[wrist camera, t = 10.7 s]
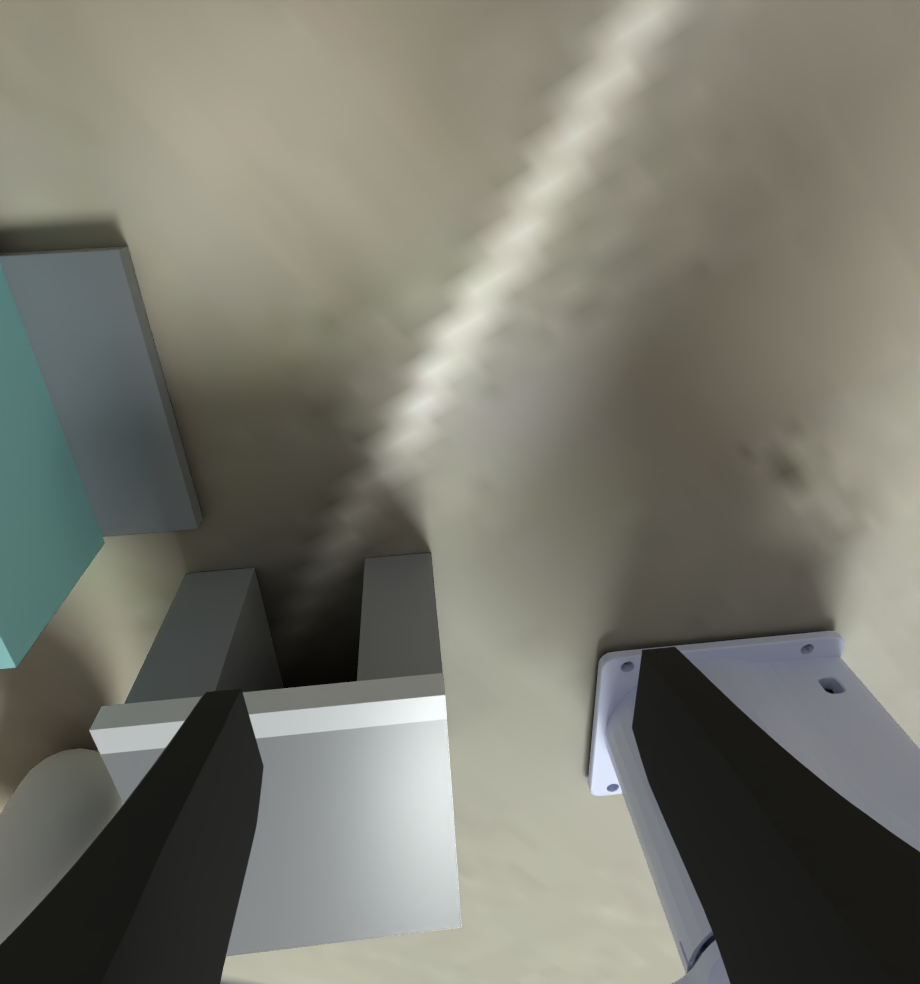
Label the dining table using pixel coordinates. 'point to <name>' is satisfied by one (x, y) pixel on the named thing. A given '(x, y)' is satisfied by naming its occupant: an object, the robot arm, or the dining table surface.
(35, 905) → the donut
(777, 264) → the dining table surface
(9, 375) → the tall teal prism
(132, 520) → the coaster
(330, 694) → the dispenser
